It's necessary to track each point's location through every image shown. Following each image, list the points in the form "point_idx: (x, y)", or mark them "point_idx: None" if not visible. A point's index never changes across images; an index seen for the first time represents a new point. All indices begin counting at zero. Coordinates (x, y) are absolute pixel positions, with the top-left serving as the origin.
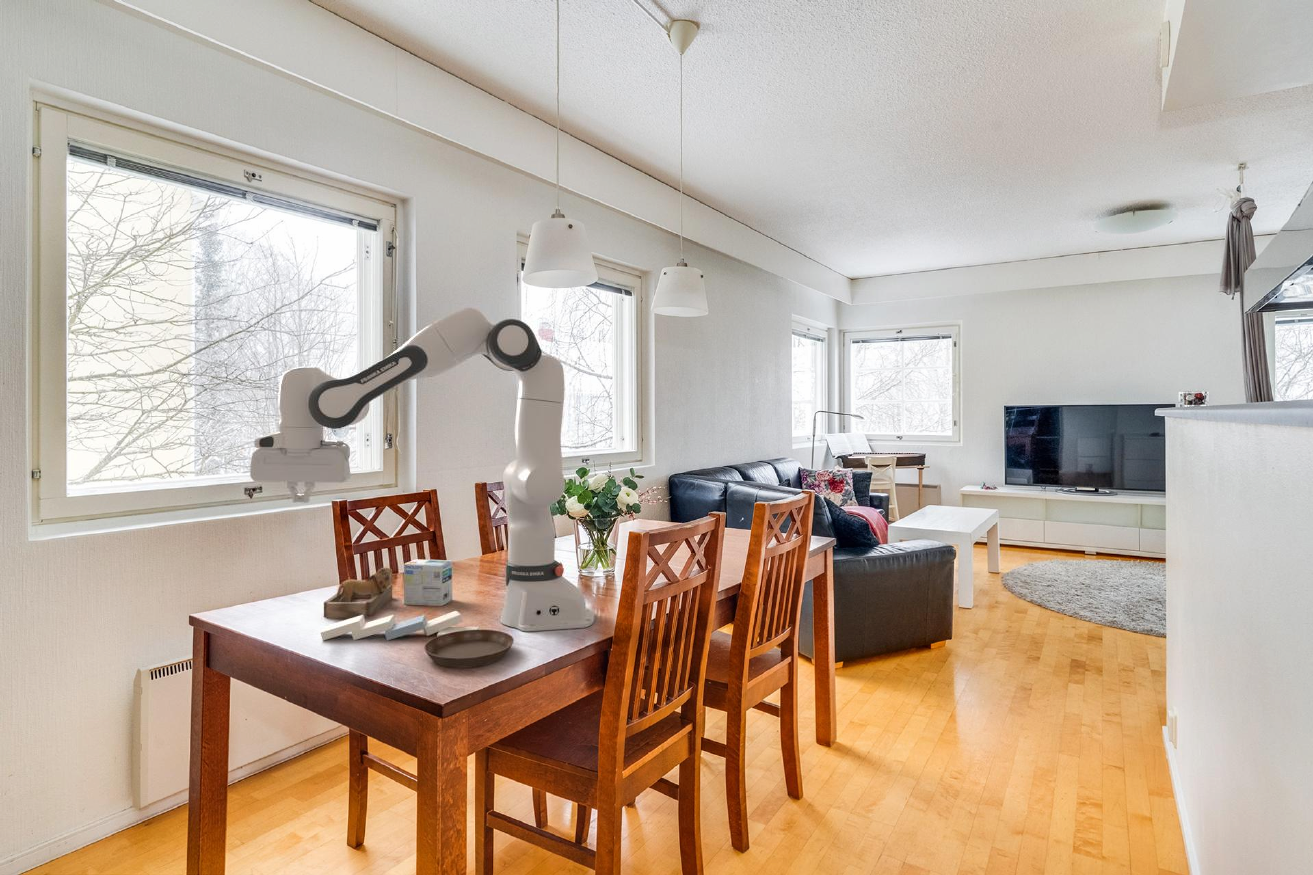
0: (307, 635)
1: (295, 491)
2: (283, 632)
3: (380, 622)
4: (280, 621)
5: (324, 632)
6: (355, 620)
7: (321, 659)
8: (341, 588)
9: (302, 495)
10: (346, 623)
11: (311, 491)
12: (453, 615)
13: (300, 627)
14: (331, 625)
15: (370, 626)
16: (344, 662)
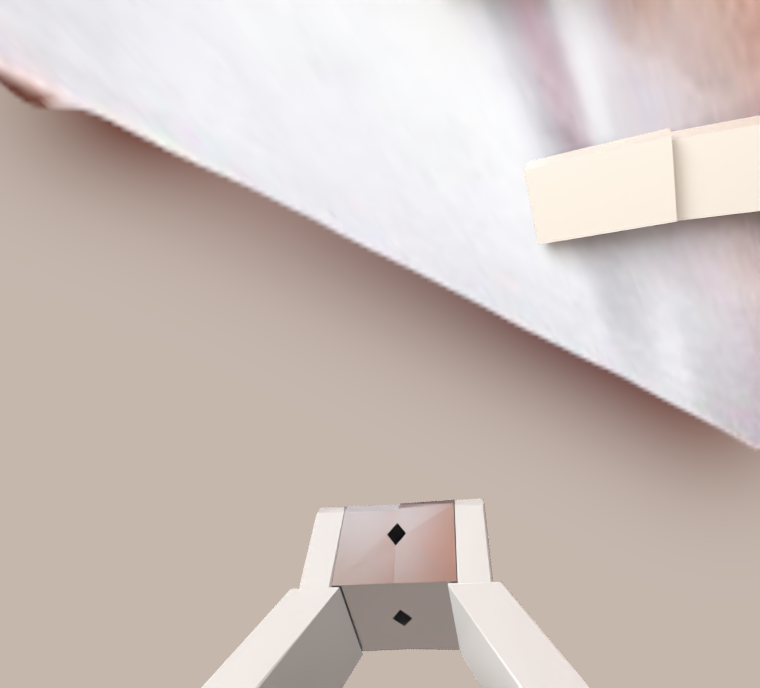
0: (466, 189)
1: (327, 666)
2: (371, 170)
3: (752, 189)
4: (275, 43)
5: (551, 241)
6: (655, 201)
7: (599, 363)
8: None
9: (452, 641)
10: (621, 210)
11: (528, 616)
12: None
13: (394, 107)
14: (551, 184)
15: (713, 211)
16: (666, 375)
